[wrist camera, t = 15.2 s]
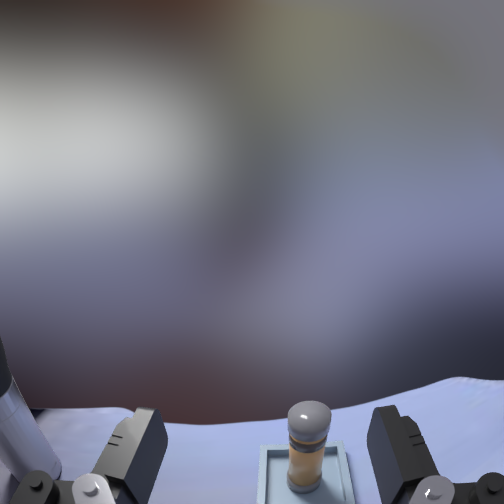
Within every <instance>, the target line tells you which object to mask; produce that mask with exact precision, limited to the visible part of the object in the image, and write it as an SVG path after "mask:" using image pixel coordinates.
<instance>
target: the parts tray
mask: <svg viewBox="0 0 504 504" xmlns="http://www.w3.org/2000/svg"><path fill="white" fill-rule="evenodd" d="M288 468H289V444H286V445H260V458H259V474H258V489H257V504H355V500H354V495H353V489H352V484H351V478H350V473H349V468H348V463H347V458H346V453H345V448H344V443H343V441H333V442H326V445H325V451H324V457H323V463H322V469H321V470H322V478H321V483H320V486H319V487H318V488H317V489H316V490H315V491H313V492H311V493H308V494H298V493H295V492H293V491H291V490H290V489H289V488H288V486H287V471H288Z"/></svg>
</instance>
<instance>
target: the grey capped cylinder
mask: <svg viewBox="0 0 504 504" xmlns="http://www.w3.org/2000/svg"><path fill="white" fill-rule="evenodd" d="M330 423H331V411H330V409H329V408H328V407H327V406H326V405H325V404H322V403H320V402H317V401H304V402H300V403H298V404H296V405H294V406H293V407H292V408H291V409H290V410H289V412H288V431H289V468H288V471H287V486H288V488H289V489H290V490H291V491H293V492H295V493H298V494H308V493H311V492H313V491H315V490H316V489H317V488H318V487H319V486H320V483H321V478H322V470H321V469H322V463H323V457H324V451H325V445H326V441H327V434H328V432H329V429H330Z"/></svg>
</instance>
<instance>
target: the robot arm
mask: <svg viewBox="0 0 504 504" xmlns="http://www.w3.org/2000/svg"><path fill="white" fill-rule="evenodd" d="M167 444H168V436H167V432H166V429H165V426H164V423H163V420H162V417H161V414H160V411H159V410H158V409H153V408H145V407H138V408H137V410H136V412H135V414H134V415H133V417H132V418H128V417H126V418H125V419H124V420H122V421H121V422H120V423H119V424H118V425H117V426H116V428H115V430H114V431H113V433H112V437H110V439H109V441H108V444H106V446H105V448H104V450H103V452H102V454H101V456H100V457H99V459H98V461H97V463H96V465H95V467H94V469H93V470H92V472H91V473H90V474H84V475H82V476H80V477H78V478H77V479H76V480H75V481H61V480H57V478H58V477H59V475H60V472H61V463H60V460H59V458H58V457H57V455H56V454H55V452H54V451H53V449H52V448H51V446H50V445H49V443H48V441H47V440H46V438H45V436H44V435H43V433H42V431H41V430H40V428H39V426H38V425H37V423H36V421H35V419H34V418H33V416H32V414H31V412H30V410H29V409H28V407H27V405H26V403H25V401H24V399H23V397H22V395H21V393H20V391H19V389H18V387H17V385H16V383H15V381H14V379H13V377H12V375H11V372H10V370H9V367H8V364H7V359H6V355H5V350H4V346H3V343H2V340H1V338H0V459H1V460H2V461H3V463H4V464H5V465H6V467H7V468H8V469H9V470H10V472H11V473H12V474H13V475H14V477H15V478H16V479H17V480H18V481H19V482H20V484H19V486H18V488H17V490H16V491H15V493H14V495H13V497H12V498H11V500H10V502H9V504H147V503H148V500H149V497H150V495H151V492H152V489H153V486H154V483H155V480H156V477H157V475H158V472H159V469H160V466H161V463H162V460H163V457H164V455H165V452H166V449H167ZM367 447H368V451H369V455H370V459H371V462H372V466H373V470H374V474H375V478H376V482H377V485H378V489H379V493H380V498H381V502H382V504H504V476H503V475H502V474H499V473H496V472H491V473H487V474H485V475H483V476H482V477H481V478H480V479H479V480H478V481H477V482H474V483H452V482H451V481H450V480H449V479H448V478H446V477H443V476H440V474H439V473H438V470H437V468H436V466H435V463H434V461H433V459H432V456H431V454H430V452H429V450H428V447H427V445H426V444H425V441H424V438H423V436H421V432H420V430H419V428H418V425H417V423H415V422H414V421H413V420H412V419H411V418H410V417H409V416H403V417H400V414H399V412H398V410H397V408H396V406H395V405H390V406H384V407H377V408H375V409H374V411H373V415H372V419H371V422H370V426H369V430H368V433H367Z"/></svg>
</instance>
